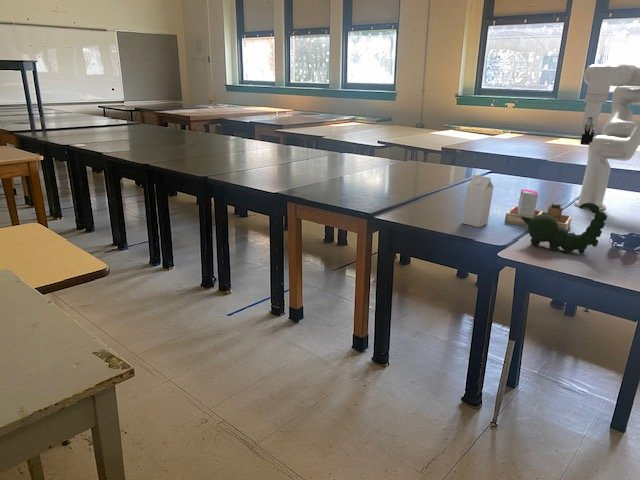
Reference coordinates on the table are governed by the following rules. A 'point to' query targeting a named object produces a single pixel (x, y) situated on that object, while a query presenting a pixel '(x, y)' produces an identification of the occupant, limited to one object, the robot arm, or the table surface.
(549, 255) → the table surface
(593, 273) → the table surface
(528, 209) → the supplement box
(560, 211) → the box
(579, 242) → the toy figurine
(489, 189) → the milk carton
